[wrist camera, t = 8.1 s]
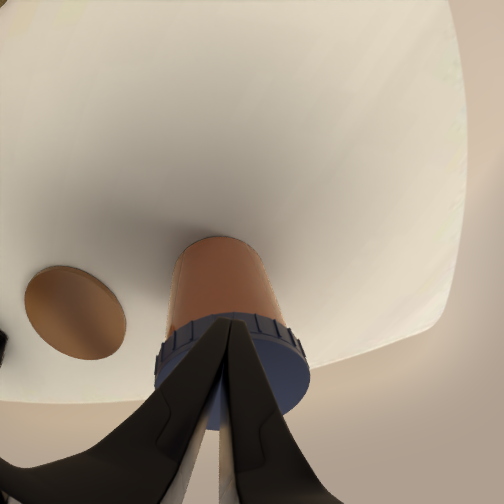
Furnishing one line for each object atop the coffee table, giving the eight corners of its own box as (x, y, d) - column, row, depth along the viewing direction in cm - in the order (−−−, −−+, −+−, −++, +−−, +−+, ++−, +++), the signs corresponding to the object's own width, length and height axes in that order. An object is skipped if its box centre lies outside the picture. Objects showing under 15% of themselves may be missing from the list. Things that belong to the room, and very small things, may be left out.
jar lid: (238, 419, 16) (241, 442, 15) (130, 375, 13) (126, 400, 12) (329, 351, 14) (340, 374, 13) (218, 280, 12) (222, 306, 10)
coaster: (99, 369, 24) (98, 374, 23) (17, 317, 20) (14, 321, 19) (146, 310, 21) (145, 315, 21) (47, 242, 18) (43, 246, 17)
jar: (224, 327, 23) (240, 432, 15) (155, 285, 21) (137, 393, 12) (282, 271, 22) (328, 370, 13) (212, 217, 19) (222, 309, 11)
